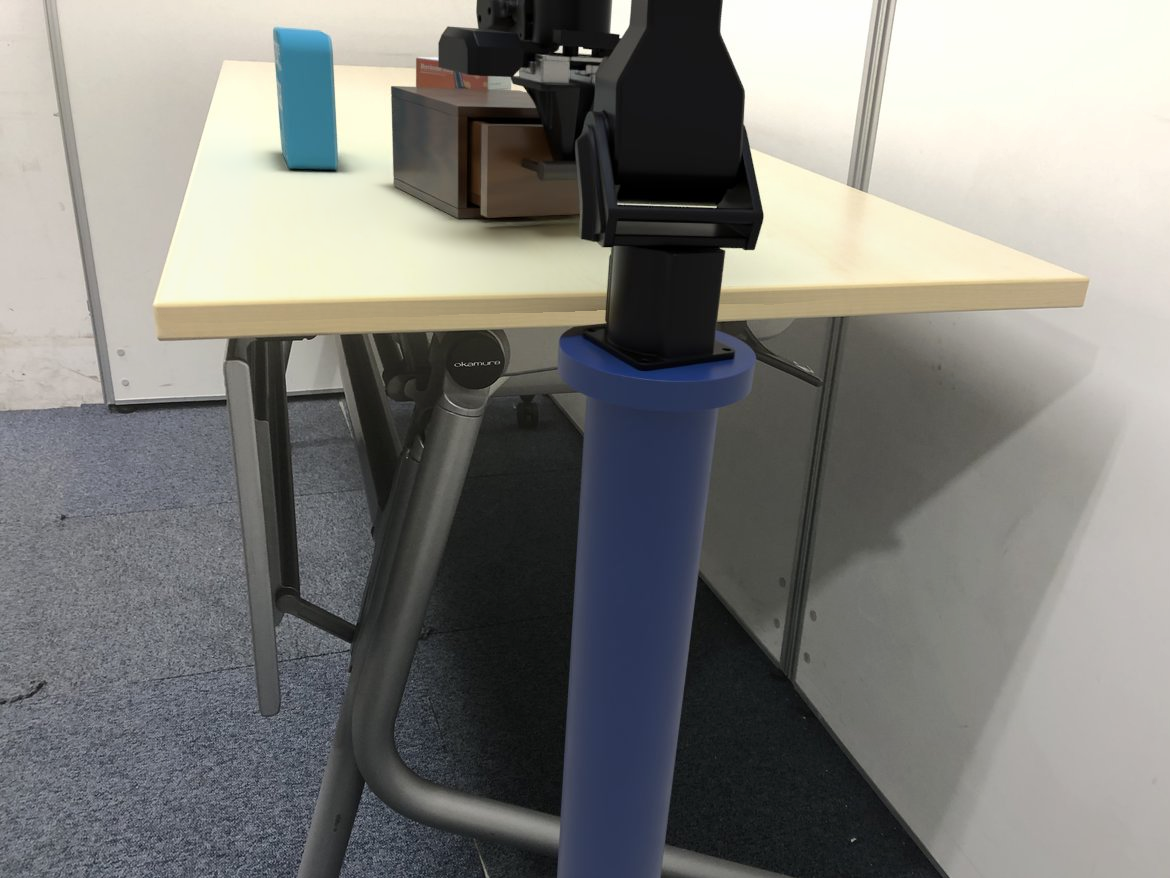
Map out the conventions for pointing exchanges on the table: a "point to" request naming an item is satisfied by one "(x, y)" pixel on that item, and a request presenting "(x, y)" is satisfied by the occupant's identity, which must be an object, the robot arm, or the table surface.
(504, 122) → the drawer
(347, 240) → the table surface
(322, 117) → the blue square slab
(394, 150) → the cabinet
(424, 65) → the small box
